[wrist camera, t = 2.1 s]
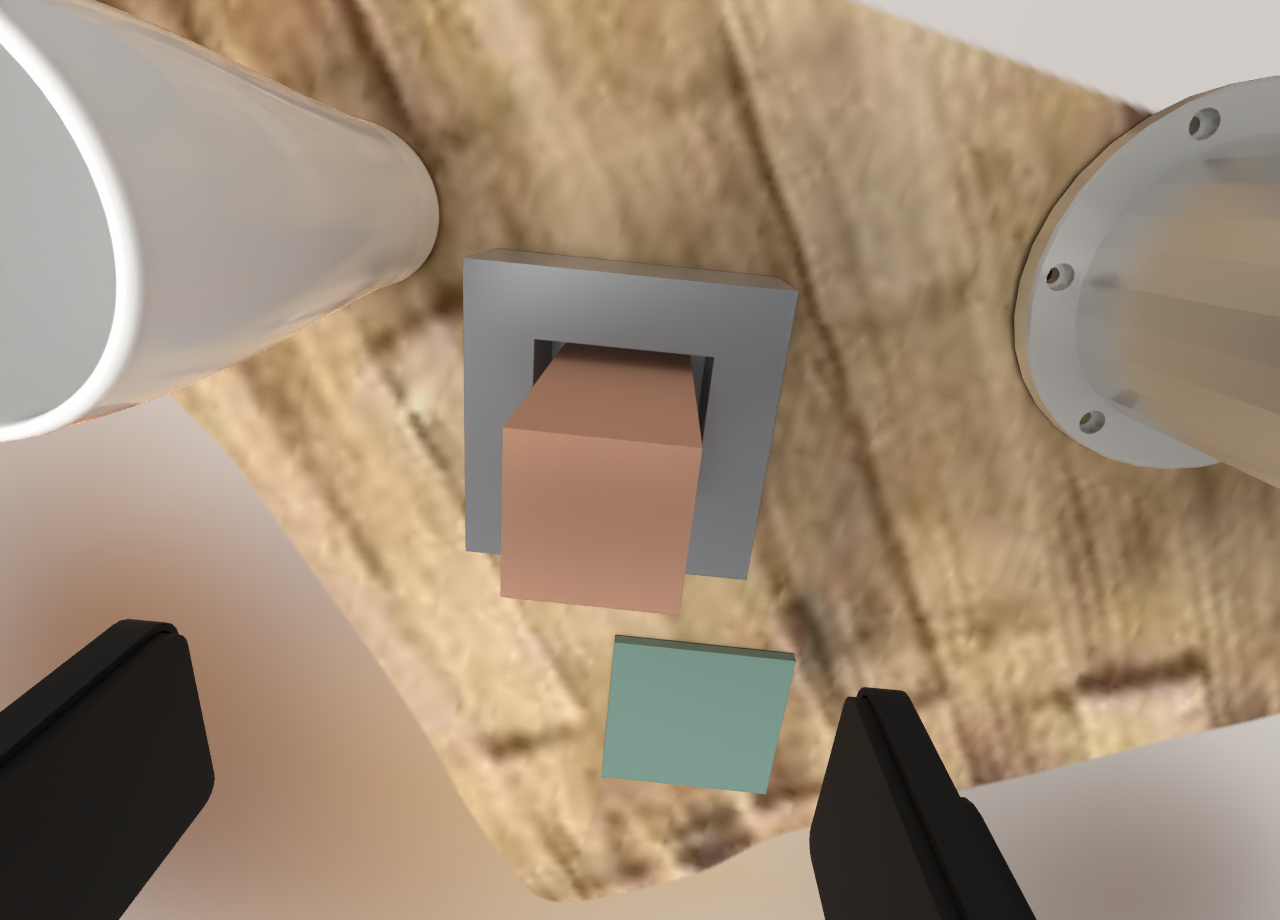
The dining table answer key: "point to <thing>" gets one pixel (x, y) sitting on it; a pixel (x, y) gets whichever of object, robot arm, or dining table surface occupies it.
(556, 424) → the peg
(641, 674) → the mat
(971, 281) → the dining table surface
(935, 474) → the dining table surface
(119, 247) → the drinking glass
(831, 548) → the dining table surface
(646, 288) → the pocket block
